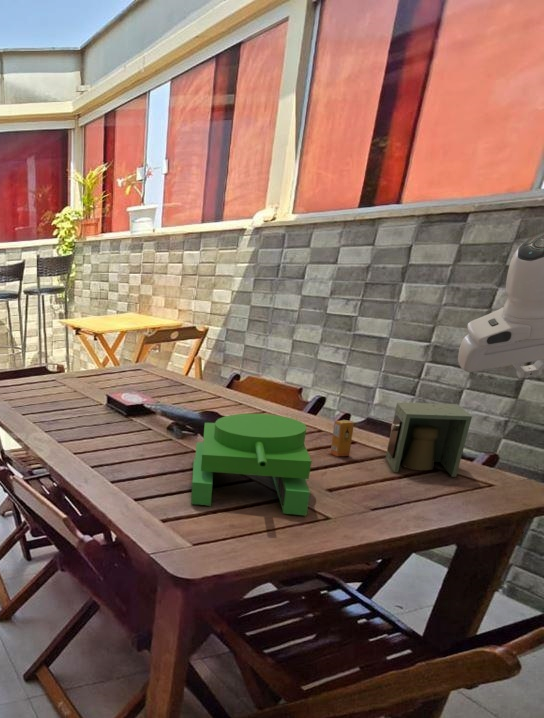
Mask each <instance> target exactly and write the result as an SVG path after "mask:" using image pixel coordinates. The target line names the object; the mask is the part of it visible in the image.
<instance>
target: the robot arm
mask: <svg viewBox="0 0 544 718" xmlns="http://www.w3.org/2000/svg"><path fill="white" fill-rule="evenodd" d="M505 293H506V295H507V299H506V301H505V302H504V304H503V307H501V308H498V309H497V310H494V311H492V312H490V313H488V314H485V315H482V316H481V317H477V318H475V319H473V320H471V321H469V322H468V323H467V326H466V328H467V332H468V334H466V335H465V336H464V337H463V339H462V340H461V343H460V346H459V350H458V355H457V361H458V362H457V363H458V365H459V367H460V369H462V370H463V371H464V372H466V373H475V372H481V371H485V370H492V369H496V368H503V367H509V366H512V367H513V368H514V369H515V370H516V376H517V377H518V379H524V378H530V377H536V376H541V375H542V374H543V373H542V372H543V369H544V232H540V233H538V234H536V235H533V236H531V237H530V238H527V239H526V240H525V241H523V242H522V243H521V244H520V245H519V246H518V247H517V249H516V250H515V252H514V254H513V256H512V258H511V260H510V263H509V266H508V270H507V274H506V282H505ZM532 362H534V363H533V364H529V365H526V363H532Z"/></svg>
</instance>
